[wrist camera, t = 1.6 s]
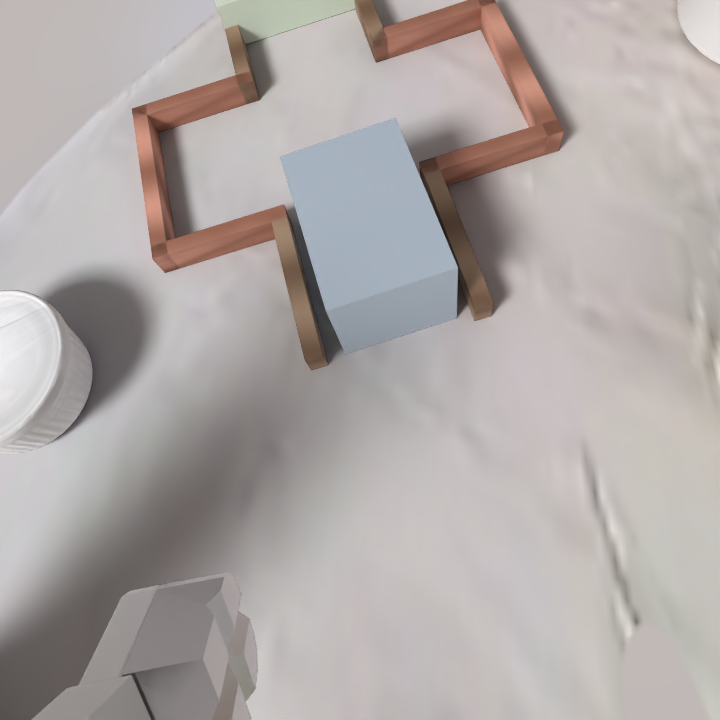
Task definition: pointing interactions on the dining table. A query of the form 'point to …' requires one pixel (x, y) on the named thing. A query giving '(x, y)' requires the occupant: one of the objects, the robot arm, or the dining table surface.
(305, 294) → the channel
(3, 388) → the ramekin
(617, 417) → the dining table surface
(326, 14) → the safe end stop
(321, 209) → the slate block
